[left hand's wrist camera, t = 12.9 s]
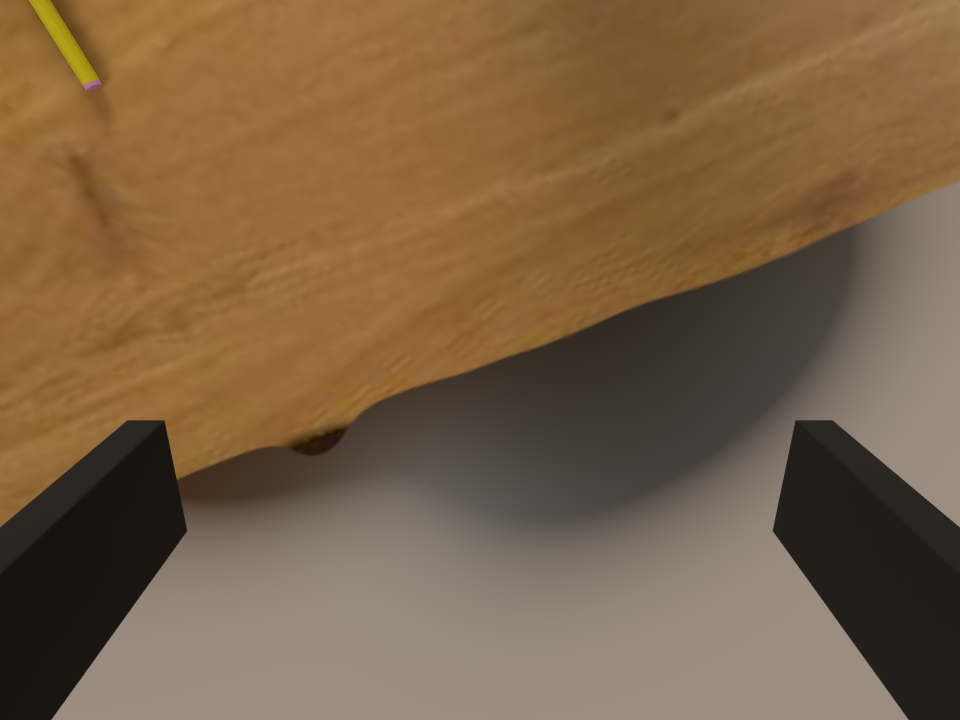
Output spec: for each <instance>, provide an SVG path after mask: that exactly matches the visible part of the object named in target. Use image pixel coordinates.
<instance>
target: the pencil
mask: <svg viewBox="0 0 960 720" xmlns="http://www.w3.org/2000/svg"><path fill="white" fill-rule="evenodd" d="M29 1H30V3H31V5H32V6H33V8H34V9H35V11H36V12H37V14H38V16H39V17H40V19H41V20H42V22H43V24H44V25H45V27H46V28H47V30H48V31H49V33H50V35H51V36H52V38H53V39H54V41H55V43H56V44H57V46H58V47H59V49H60V51H61V52H62V54H63V55H64V57H65V58H66V60H67V62H68V63H69V65H70V66H71V68H72V70H73V71H74V73H75V74H76V76H77V77H78V79H79V81H80V82H81V84H82V85H83V87H84V88H85V90H86V91H87V92H90V91H94V90H97V89H99V88H101V87H102V85H103V84H102V83H101V81H100V80H99V78H98V76H97V75H96V73H95V71H94V70H93V68H92V67H91V65H90V63H89V62H88V60H87V59H86V57H85V55H84V54H83V52H82V50H81V49H80V47H79V46H78V44H77V42H76V41H75V39H74V38H73V36H72V34H71V33H70V31H69V30H68V28H67V26H66V25H65V23H64V21H63V20H62V18H61V17H60V15H59V13H58V12H57V10H56V9H55V7H54V5H53V4H52V2H51V0H29Z"/></svg>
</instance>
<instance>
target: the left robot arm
mask: <svg viewBox="0 0 960 720" xmlns="http://www.w3.org/2000/svg"><path fill="white" fill-rule="evenodd" d="M186 532H187V528H186V523H185V518H184V513H183V508H182V503H181V498H180V494H179V489H178V484H177V479H176V474H175V469H174V465H173V460H172V455H171V450H170V445H169V440H168V436H167V431H166V426H165V421H164V420H128V421H126V422H125V423H124V424H123V425H122V426H120V427H119V428H118V429H117V430H116V431H114V432H113V433H112V434H111V435H110V436H108V437H107V438H106V439H105V440H104V441H103V442H101V443H100V444H99V445H98V446H97V447H95V448H94V449H93V450H92V451H91V452H89V453H88V454H87V455H86V456H85V457H84V458H82V459H81V460H80V461H79V462H78V463H76V464H75V465H74V466H73V467H72V468H70V469H69V470H68V471H67V472H66V473H64V474H63V475H62V476H61V477H60V478H59V479H57V480H56V481H55V482H54V483H53V484H51V485H50V486H49V487H48V488H47V489H45V490H44V491H43V492H42V493H41V494H40V495H38V496H37V497H36V498H35V499H34V500H32V501H31V502H30V503H29V504H28V505H26V506H25V507H24V508H23V509H22V510H20V511H19V512H18V513H17V514H16V515H15V516H13V517H12V518H11V519H10V520H9V521H7V522H6V523H5V524H4V525H3V526H1V527H0V720H51V719H52V718H53V717H54V715H55V714H56V712H57V711H58V710H59V708H60V707H61V706H62V704H63V703H64V701H65V700H66V699H67V697H68V696H69V694H70V693H71V692H72V690H73V689H74V687H75V686H76V685H77V683H78V682H79V681H80V679H81V678H82V676H83V675H84V674H85V672H86V671H87V669H88V668H89V667H90V665H91V664H92V662H93V661H94V660H95V658H96V657H97V655H98V654H99V653H100V651H101V650H102V649H103V647H104V646H105V644H106V643H107V641H108V640H109V639H110V637H111V636H112V635H113V633H114V632H115V630H116V629H117V628H118V626H119V625H120V623H121V622H122V621H123V619H124V618H125V617H126V615H127V614H128V612H129V611H130V610H131V608H132V607H133V605H134V604H135V603H136V601H137V600H138V598H139V597H140V596H141V594H142V593H143V592H144V590H145V589H146V587H147V586H148V585H149V583H150V582H151V580H152V579H153V578H154V576H155V575H156V574H157V572H158V571H159V569H160V568H161V567H162V565H163V564H164V562H165V561H166V560H167V558H168V557H169V555H170V554H171V553H172V551H173V550H174V549H175V547H176V546H177V544H178V543H179V542H180V540H181V539H182V537H183V536H184V535H185V533H186ZM773 532H774V533H775V535H776V536H777V537H778V539H779V540H780V542H781V543H782V544H783V546H784V547H785V549H786V550H787V551H788V553H789V554H790V555H791V557H792V558H793V560H794V561H795V562H796V564H797V565H798V567H799V568H800V569H801V571H802V572H803V574H804V575H805V576H806V578H807V579H808V580H809V582H810V583H811V585H812V586H813V587H814V589H815V590H816V592H817V593H818V594H819V596H820V597H821V599H822V600H823V601H824V603H825V604H826V605H827V607H828V608H829V610H830V611H831V612H832V614H833V615H834V617H835V618H836V619H837V621H838V622H839V624H840V625H841V626H842V628H843V629H844V630H845V632H846V633H847V635H848V636H849V637H850V639H851V640H852V642H853V643H854V644H855V646H856V647H857V649H858V650H859V651H860V653H861V654H862V656H863V657H864V658H865V660H866V661H867V662H868V664H869V665H870V667H871V668H872V669H873V671H874V672H875V674H876V675H877V676H878V678H879V679H880V680H881V682H882V683H883V685H884V686H885V687H886V689H887V690H888V692H889V693H890V694H891V696H892V697H893V698H894V700H895V701H896V703H897V704H898V706H899V707H900V708H901V710H902V711H903V712H904V714H905V715H906V717H907V718H908V719H909V720H960V527H959V526H957V525H956V524H955V523H954V522H953V521H951V520H950V519H949V518H948V517H947V516H945V515H944V514H943V513H942V512H941V511H939V510H938V509H937V508H936V507H935V506H934V505H932V504H931V503H930V502H929V501H928V500H926V499H925V498H924V497H923V496H922V495H920V494H919V493H918V492H917V491H916V490H915V489H913V488H912V487H911V486H910V485H909V484H907V483H906V482H905V481H904V480H903V479H901V478H900V477H899V476H898V475H897V474H896V473H894V472H893V471H892V470H891V469H890V468H888V467H887V466H886V465H885V464H884V463H882V462H881V461H880V460H879V459H878V458H876V457H875V456H874V455H873V454H872V453H871V452H869V451H868V450H867V449H866V448H865V447H863V446H862V445H861V444H860V443H859V442H857V441H856V440H855V439H854V438H853V437H851V436H850V435H849V434H848V433H847V432H846V431H844V430H843V429H842V428H841V427H840V426H838V425H837V424H836V423H835V422H834V421H831V420H827V421H825V420H816V421H815V420H813V421H812V420H810V421H808V420H803V421H801V420H796V421H795V426H794V431H793V436H792V440H791V445H790V450H789V455H788V460H787V465H786V470H785V474H784V479H783V484H782V489H781V494H780V499H779V503H778V508H777V513H776V518H775V523H774V527H773Z"/></svg>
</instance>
